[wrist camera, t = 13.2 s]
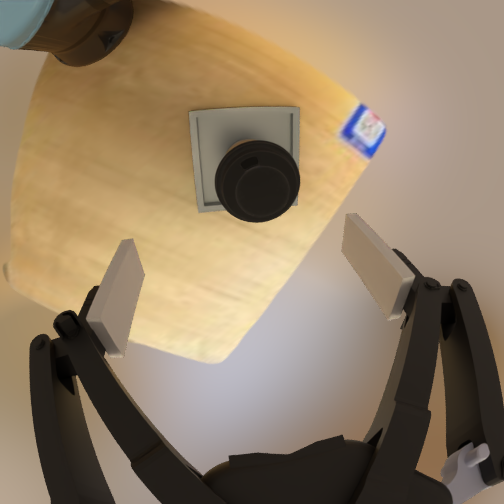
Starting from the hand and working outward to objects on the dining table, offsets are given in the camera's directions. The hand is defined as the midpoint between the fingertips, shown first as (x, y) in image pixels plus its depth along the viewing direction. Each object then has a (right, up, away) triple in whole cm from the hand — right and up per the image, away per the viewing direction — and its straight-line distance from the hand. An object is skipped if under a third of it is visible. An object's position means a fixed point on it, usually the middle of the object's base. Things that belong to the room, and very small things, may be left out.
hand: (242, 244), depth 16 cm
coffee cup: (0, +14, +24) cm, 28 cm away
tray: (0, +15, +25) cm, 29 cm away
